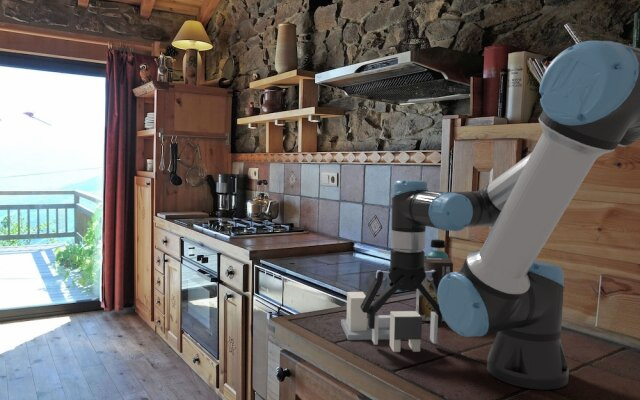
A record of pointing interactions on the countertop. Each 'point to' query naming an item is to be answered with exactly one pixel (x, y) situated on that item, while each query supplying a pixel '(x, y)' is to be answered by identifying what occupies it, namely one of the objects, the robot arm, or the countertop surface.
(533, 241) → the robot arm
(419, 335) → the white bridge block
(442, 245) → the beverage bottle
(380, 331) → the rail base
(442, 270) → the coffee box
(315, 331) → the countertop surface
